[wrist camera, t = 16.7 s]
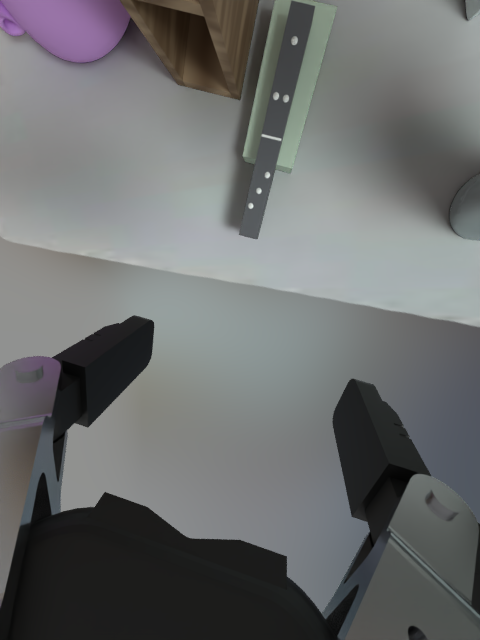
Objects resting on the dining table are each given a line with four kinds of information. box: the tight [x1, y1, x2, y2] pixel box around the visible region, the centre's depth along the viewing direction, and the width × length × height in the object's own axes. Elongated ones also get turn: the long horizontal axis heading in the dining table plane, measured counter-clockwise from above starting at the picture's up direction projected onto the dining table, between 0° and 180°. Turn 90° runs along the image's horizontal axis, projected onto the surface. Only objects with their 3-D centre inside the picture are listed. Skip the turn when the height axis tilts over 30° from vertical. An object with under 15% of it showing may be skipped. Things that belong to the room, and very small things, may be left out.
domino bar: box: [239, 0, 315, 239], centre depth 32 cm, size 3×24×3 cm, turn 166°
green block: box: [243, 0, 337, 173], centre depth 32 cm, size 7×16×4 cm, turn 166°
